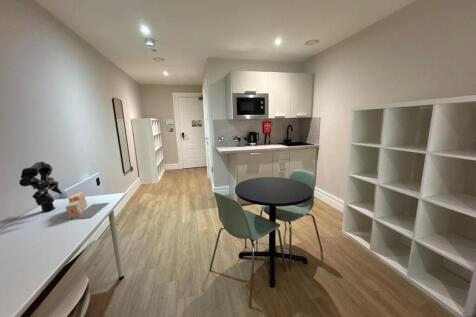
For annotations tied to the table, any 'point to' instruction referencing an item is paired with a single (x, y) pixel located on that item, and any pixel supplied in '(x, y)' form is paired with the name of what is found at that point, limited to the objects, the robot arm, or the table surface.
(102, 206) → the mat
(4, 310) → the table surface
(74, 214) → the stack of blocks
